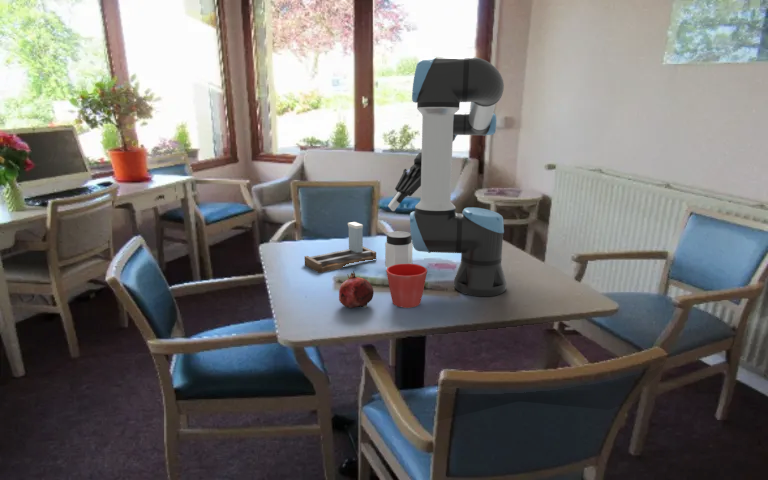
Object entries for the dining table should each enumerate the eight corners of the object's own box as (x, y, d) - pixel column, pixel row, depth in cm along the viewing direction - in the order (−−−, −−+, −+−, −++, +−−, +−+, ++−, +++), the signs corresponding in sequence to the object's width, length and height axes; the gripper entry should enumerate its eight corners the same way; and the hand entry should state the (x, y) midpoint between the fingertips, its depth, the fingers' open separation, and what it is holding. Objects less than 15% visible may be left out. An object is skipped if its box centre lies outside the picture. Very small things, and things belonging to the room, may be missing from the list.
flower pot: (389, 294, 142) (389, 262, 140) (427, 296, 141) (428, 263, 138) (383, 309, 132) (383, 274, 129) (425, 311, 131) (425, 276, 128)
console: (360, 253, 180) (360, 245, 179) (376, 260, 172) (376, 252, 171) (304, 264, 167) (304, 256, 167) (318, 273, 160) (318, 264, 159)
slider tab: (355, 252, 175) (354, 221, 172) (363, 255, 171) (363, 224, 168) (348, 253, 174) (347, 222, 171) (356, 257, 170) (356, 226, 167)
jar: (417, 270, 162) (417, 234, 159) (398, 275, 157) (398, 239, 154) (399, 263, 169) (399, 229, 166) (380, 268, 164) (380, 233, 161)
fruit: (378, 310, 131) (378, 275, 129) (343, 315, 128) (343, 279, 125) (367, 298, 140) (367, 264, 137) (334, 302, 136) (333, 268, 134)
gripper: (445, 166, 179) (407, 218, 174) (422, 163, 189) (386, 211, 184) (434, 152, 174) (395, 205, 170) (411, 149, 184) (374, 199, 180)
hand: (390, 208), depth 177 cm, fingers closed
